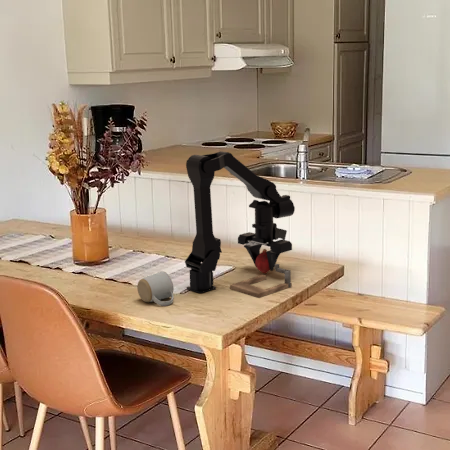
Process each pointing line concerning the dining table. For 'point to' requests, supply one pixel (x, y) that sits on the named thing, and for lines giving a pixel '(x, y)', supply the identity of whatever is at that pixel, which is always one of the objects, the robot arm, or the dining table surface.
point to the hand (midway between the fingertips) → (264, 268)
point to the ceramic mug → (156, 288)
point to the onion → (262, 262)
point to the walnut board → (259, 292)
